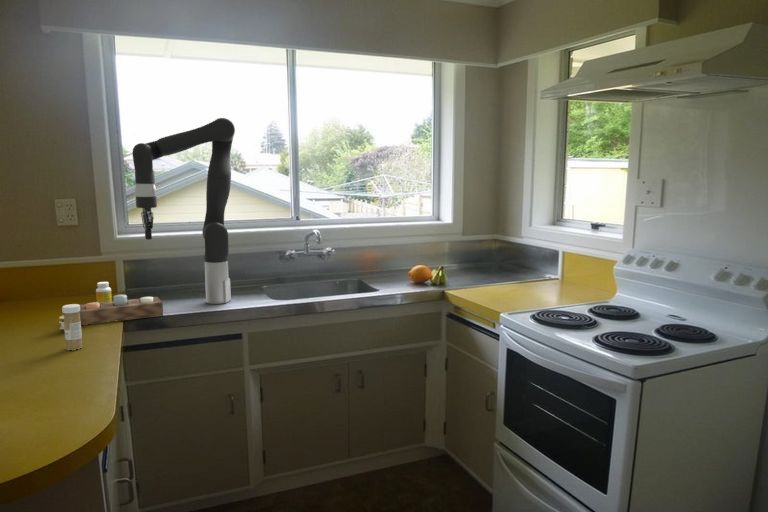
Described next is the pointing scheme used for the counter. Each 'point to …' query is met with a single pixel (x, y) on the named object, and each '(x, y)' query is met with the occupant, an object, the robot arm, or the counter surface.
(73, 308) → the sprinkles bottle
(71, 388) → the counter surface
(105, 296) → the supplement bottle
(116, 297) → the blue-grey egg
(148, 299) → the cream button
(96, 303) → the brown egg
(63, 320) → the stacked layers on plate
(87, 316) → the button panel
